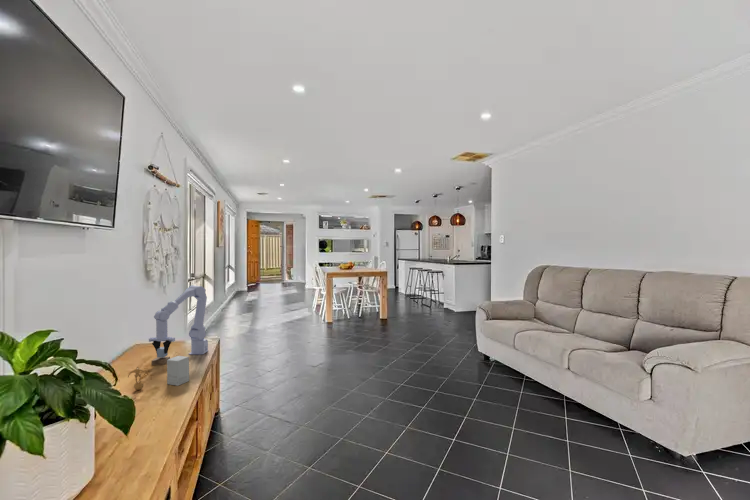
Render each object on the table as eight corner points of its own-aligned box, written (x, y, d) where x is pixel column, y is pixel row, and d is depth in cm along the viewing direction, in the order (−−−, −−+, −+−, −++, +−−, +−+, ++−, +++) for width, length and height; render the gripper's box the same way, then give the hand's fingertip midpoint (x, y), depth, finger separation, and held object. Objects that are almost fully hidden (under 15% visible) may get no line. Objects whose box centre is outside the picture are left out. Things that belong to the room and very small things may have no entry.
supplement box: (189, 380, 186) (189, 356, 186) (177, 386, 179) (177, 361, 179) (178, 379, 188) (178, 355, 188) (166, 384, 181) (166, 359, 181)
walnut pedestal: (170, 361, 217) (170, 356, 217) (163, 365, 210) (163, 360, 210) (158, 361, 217) (158, 356, 217) (151, 365, 210) (151, 360, 210)
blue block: (167, 355, 216) (167, 347, 216) (163, 357, 212) (163, 349, 212) (160, 355, 216) (160, 347, 216) (157, 357, 212) (156, 349, 212)
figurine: (149, 386, 178) (149, 363, 178) (147, 391, 172) (146, 366, 172) (129, 389, 175) (129, 365, 174) (126, 394, 169) (126, 369, 169)
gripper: (145, 332, 210) (145, 355, 210) (170, 332, 210) (170, 355, 210) (152, 329, 217) (152, 351, 217) (176, 329, 217) (177, 351, 217)
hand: (162, 353), depth 214 cm, fingers closed on blue block, 4 cm apart
